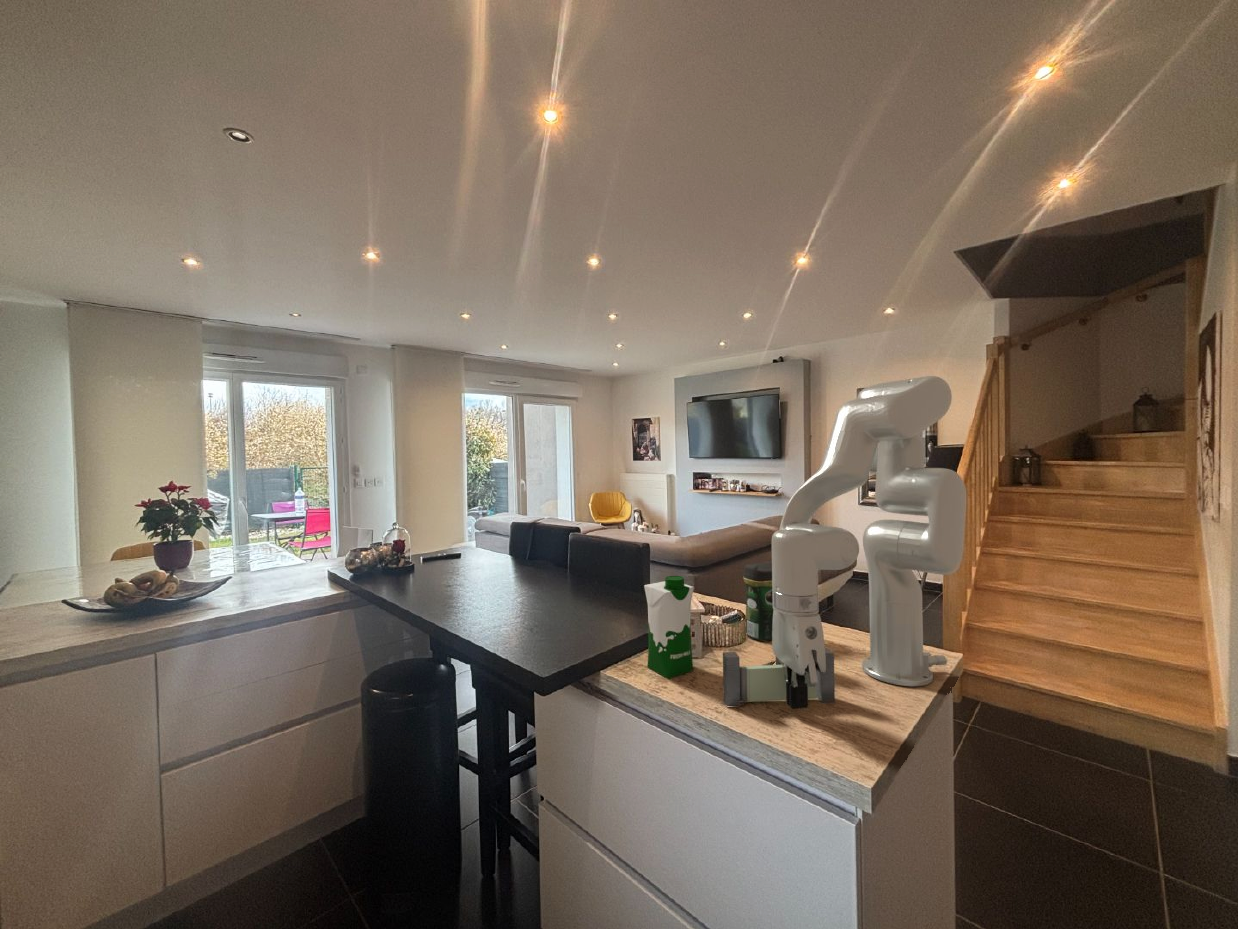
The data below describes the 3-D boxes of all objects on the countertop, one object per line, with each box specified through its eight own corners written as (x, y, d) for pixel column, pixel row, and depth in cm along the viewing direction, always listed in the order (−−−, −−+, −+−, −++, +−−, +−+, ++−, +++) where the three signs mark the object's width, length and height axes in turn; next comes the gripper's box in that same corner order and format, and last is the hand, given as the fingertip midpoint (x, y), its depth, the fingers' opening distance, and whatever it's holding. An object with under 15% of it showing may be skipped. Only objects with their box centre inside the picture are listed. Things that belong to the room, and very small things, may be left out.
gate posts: (828, 695, 91) (827, 648, 91) (834, 702, 88) (833, 653, 88) (723, 700, 89) (722, 652, 89) (727, 707, 87) (726, 657, 87)
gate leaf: (738, 698, 89) (737, 666, 89) (812, 694, 90) (812, 662, 90) (741, 703, 88) (740, 670, 88) (817, 699, 88) (816, 666, 88)
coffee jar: (769, 628, 128) (768, 558, 128) (790, 638, 121) (789, 563, 120) (739, 633, 124) (737, 561, 124) (759, 644, 117) (757, 567, 117)
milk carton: (666, 682, 98) (665, 583, 98) (641, 666, 105) (639, 575, 105) (699, 671, 102) (697, 577, 102) (672, 657, 110) (670, 569, 110)
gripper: (841, 612, 77) (843, 726, 77) (791, 588, 92) (793, 684, 92) (799, 616, 76) (801, 732, 76) (755, 591, 91) (757, 689, 91)
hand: (797, 706), depth 84 cm, fingers closed
